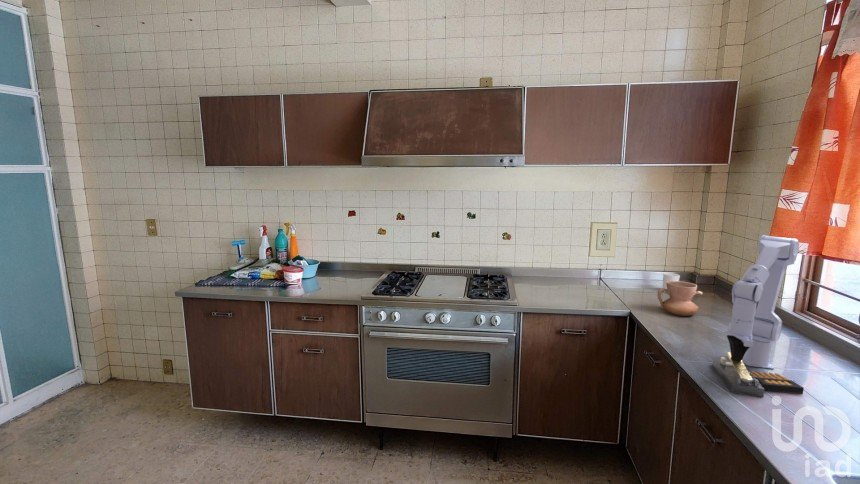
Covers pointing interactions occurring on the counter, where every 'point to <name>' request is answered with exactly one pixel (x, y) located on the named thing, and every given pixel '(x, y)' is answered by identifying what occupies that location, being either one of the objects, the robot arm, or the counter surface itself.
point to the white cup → (669, 278)
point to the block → (737, 380)
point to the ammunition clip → (777, 382)
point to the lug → (723, 362)
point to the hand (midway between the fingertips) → (736, 359)
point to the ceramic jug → (679, 298)
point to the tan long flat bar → (741, 370)
